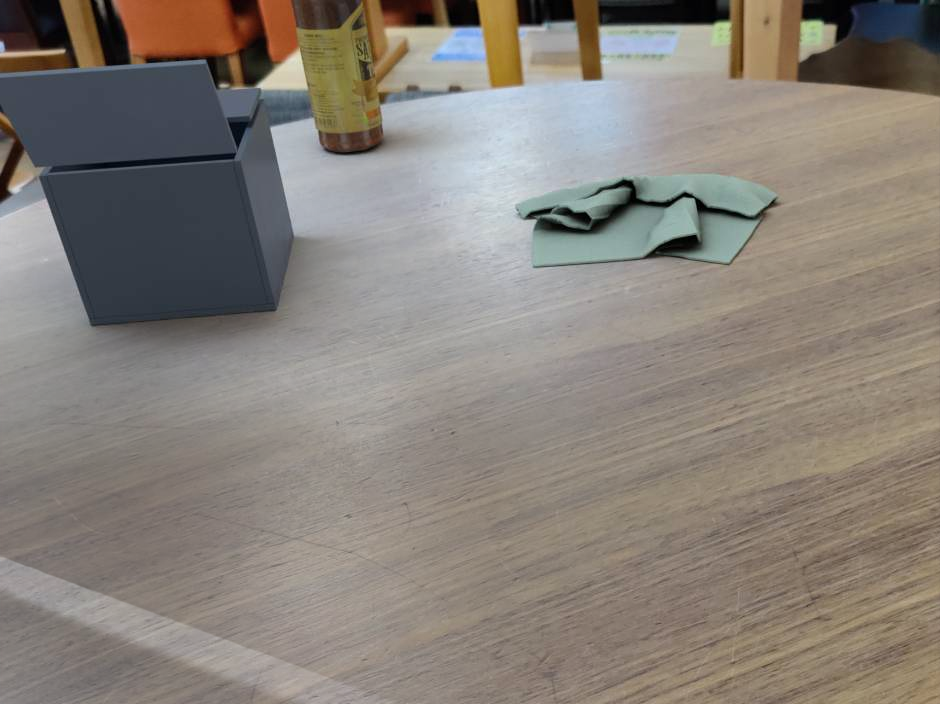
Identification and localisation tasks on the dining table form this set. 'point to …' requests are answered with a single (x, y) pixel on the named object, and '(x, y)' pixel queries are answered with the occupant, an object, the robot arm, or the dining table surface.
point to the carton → (178, 227)
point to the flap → (116, 113)
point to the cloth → (646, 219)
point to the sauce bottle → (339, 73)
